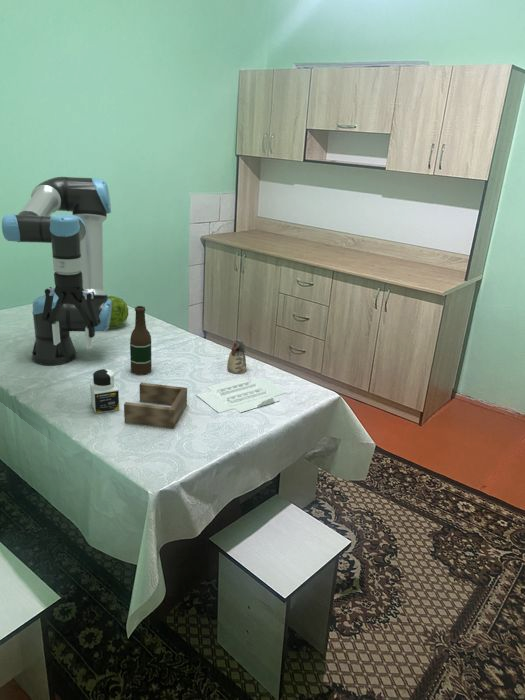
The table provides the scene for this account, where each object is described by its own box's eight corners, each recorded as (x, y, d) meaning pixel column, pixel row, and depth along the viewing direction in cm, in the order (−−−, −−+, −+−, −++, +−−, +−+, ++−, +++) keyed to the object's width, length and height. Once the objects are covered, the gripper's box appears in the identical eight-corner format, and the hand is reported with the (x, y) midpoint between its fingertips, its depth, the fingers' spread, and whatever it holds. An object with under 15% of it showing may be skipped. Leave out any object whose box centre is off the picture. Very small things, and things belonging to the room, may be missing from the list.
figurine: (250, 370, 197) (252, 340, 193) (236, 375, 192) (238, 345, 188) (236, 364, 202) (238, 334, 197) (223, 369, 197) (224, 339, 192)
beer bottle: (147, 376, 187) (146, 311, 177) (126, 373, 188) (124, 308, 179) (155, 368, 194) (155, 305, 185) (135, 365, 195) (134, 302, 186)
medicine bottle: (95, 414, 161) (93, 378, 156) (91, 403, 166) (88, 368, 162) (119, 410, 164) (118, 374, 159) (114, 399, 170) (112, 365, 165)
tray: (190, 393, 179) (191, 383, 177) (256, 378, 195) (257, 369, 194) (224, 420, 164) (225, 409, 163) (292, 401, 181) (294, 391, 179)
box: (124, 422, 157) (123, 404, 155) (141, 399, 171) (141, 382, 169) (174, 428, 156) (174, 410, 154) (186, 404, 170) (187, 387, 168)
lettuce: (112, 322, 246) (113, 294, 244) (132, 328, 228) (133, 297, 226) (81, 322, 238) (82, 293, 236) (99, 328, 219) (100, 296, 217)
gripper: (23, 270, 147) (31, 345, 156) (100, 278, 146) (104, 354, 154) (37, 264, 154) (44, 336, 163) (110, 272, 152) (113, 344, 161)
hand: (73, 345), depth 158 cm, fingers open, 9 cm apart
